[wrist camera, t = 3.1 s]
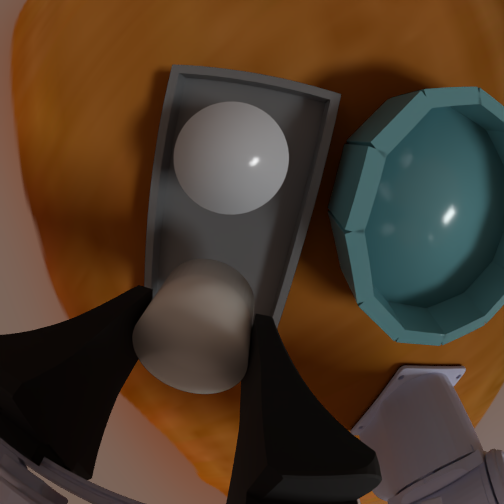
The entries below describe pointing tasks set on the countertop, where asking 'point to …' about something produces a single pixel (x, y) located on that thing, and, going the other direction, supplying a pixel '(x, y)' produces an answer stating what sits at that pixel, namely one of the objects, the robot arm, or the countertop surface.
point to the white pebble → (231, 158)
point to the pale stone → (198, 328)
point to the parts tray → (250, 223)
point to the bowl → (424, 214)
